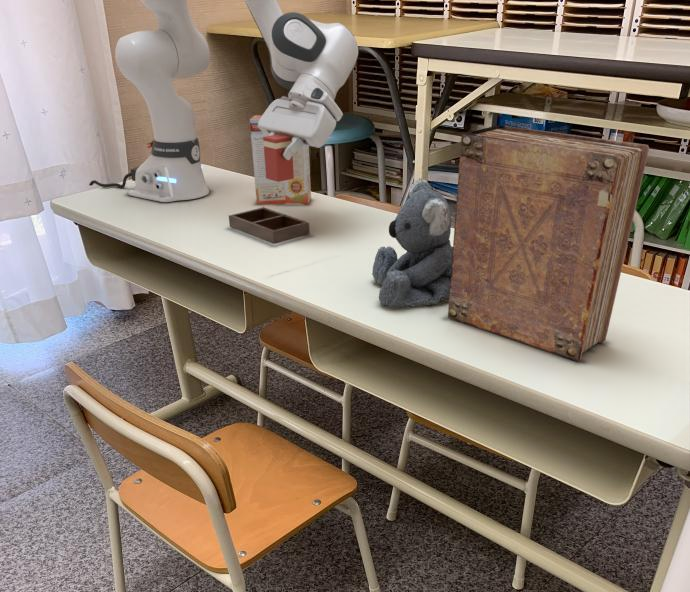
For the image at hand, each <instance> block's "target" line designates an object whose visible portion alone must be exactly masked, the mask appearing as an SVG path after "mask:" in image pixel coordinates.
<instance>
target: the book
mask: <svg viewBox="0 0 690 592" xmlns="http://www.w3.org/2000/svg"><path fill="white" fill-rule="evenodd" d="M649 151H650V147H649V145H648V144H644V143H643V144H642V143H636V142H629V141H620V140H613V139H606V138H598V137H590V136H583V135H577V134H569V133H560V132H554V131H553V132H552V131H547V130H546V131H545V130H538V129H531V128H522V127H517V126H516V127H515V126H508V125H501V124H496V125H494V126H493V125H492V126H488V127H485V128H480V129H477V130H473V131H469V132H465V133H463V134H461V137H460V151H459V162H458V163H459V165H458V176H457V191H456V205H455V214H454V215H455V217H454V228H453V241H452V243H453V244H452V247H453V255H452V268H451V281H450V295H449V298H448V308H447V309H448V310H447V318H448V319H451V320H454V321H456V322H459V323H462V324H464V325H468V326H471V327H474V328H476V329H480V330H483V331H486V332H489V333H490V334H491V333H492V334H494V335H497V336H500V337H503V338H506V339H509V340H511V341H514V342H518V343H520V344H524V345H525V346H529V347H532V348H536V349H538V350H540V351H544V352H546V353H550V354H553V355H555V356H559V357H561V358H565V359H567V360H570V361H573V362H576V363H579V362H580V361H581V360H582V357H583V353H585V352H586V351H588V350H589V349H590V348H592V347H594V345H596V344H603V343H605V342H606V340H607V335H608V331H609V326H610V322H611V318H612V313H613V309H614V305H615V300H616V296H617V292H618V287H619V283H620V279H621V274H622V269H623V264H624V261H625V256H626V253H627V249H628V244H629V240H630V234H631V230H632V227H633V221H634V217H635V213H636V209H637V203H638V199H639V195H640V192H641V186H642V181H643V177H644V173H645V168H646V164H647V160H648V156H649Z"/></svg>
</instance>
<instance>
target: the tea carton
mask: <svg viewBox="0 0 690 592" xmlns="http://www.w3.org/2000/svg"><path fill="white" fill-rule="evenodd" d="M291 140H292V137H290V136H286V135H281V134H277V135H271V136H265V137H263V146H264V156H265V170H266V179H269V180H273V181H276V182H280V181H285V180H290V179H294V172H293V155H292V157H291V158H290V160H286V159H284V158H283V157H282V156H281V152H282V150H283V149H284V148H287V147H288V146H289V145H290V144H291V143H292V141H291Z"/></svg>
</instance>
